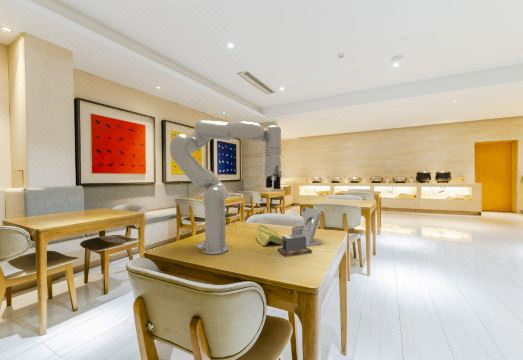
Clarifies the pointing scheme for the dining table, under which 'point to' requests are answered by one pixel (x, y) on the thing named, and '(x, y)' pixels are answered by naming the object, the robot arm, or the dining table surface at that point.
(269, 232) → the yellow-green folded towel
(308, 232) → the phone holder
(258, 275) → the dining table surface
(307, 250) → the brown peg board
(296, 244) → the block
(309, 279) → the dining table surface
